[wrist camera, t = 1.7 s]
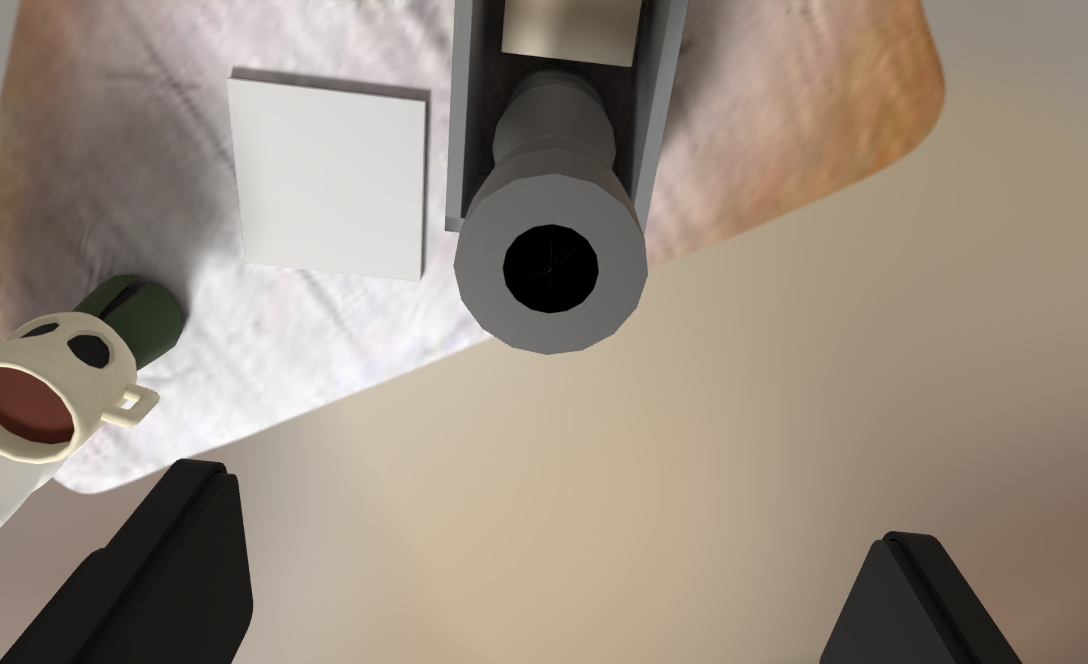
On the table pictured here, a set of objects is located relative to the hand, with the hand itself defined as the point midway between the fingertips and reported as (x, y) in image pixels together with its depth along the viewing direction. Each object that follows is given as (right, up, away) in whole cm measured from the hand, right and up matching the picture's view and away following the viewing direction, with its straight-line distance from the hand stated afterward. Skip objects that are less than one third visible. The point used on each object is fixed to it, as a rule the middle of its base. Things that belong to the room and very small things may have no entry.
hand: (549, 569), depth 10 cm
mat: (-14, +13, +34) cm, 39 cm away
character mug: (-29, +5, +39) cm, 49 cm away
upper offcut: (+1, +22, +27) cm, 35 cm away
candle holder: (+1, +17, +32) cm, 36 cm away
